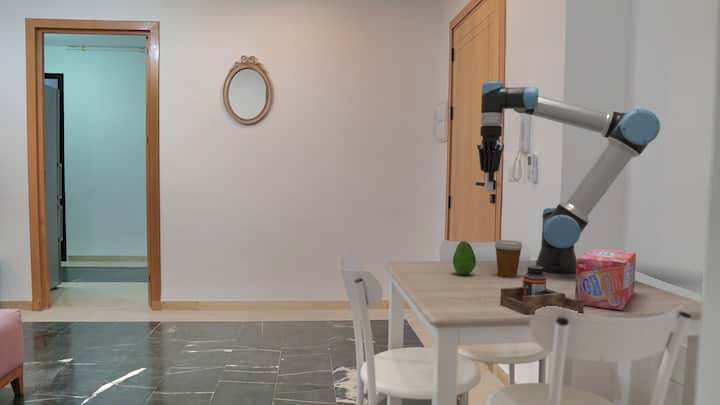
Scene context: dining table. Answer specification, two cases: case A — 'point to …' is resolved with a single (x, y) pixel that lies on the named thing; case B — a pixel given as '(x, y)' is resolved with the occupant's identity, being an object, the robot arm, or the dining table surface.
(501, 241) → the disposable coffee cup
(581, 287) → the box
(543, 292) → the supplement bottle
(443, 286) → the dining table surface
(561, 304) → the base
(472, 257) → the avocado
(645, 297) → the dining table surface
